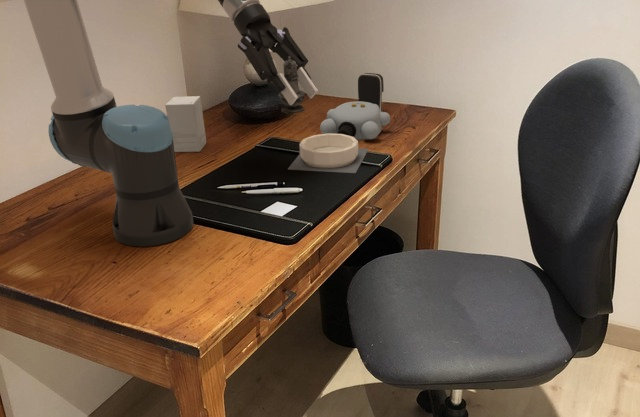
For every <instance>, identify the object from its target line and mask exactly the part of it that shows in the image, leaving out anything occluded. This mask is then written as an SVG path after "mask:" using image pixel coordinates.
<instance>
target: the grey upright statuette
mask: <svg viewBox="0 0 640 417" xmlns="http://www.w3.org/2000/svg"><path fill="white" fill-rule="evenodd" d="M288 58H289V59H288V60H287V61H284V62H283V64H282V66H283V76H284V77H285V79H286V80H287V82H288V83H289V85H290V86H291V88H292V89H293V91H294V92H295V94H296V95H297V97H298V98H297V99H296V101H295V102H294V103H293V105H289V103H288V102H287V100H286V99H285V97H284V96H283V94H282V93H281V92H279V94H278V97H279V99H280V101H281V103H282V104H283V105H284V106H283V107H282V108H281V109H280V111H281V113H283V114H299V113H302V112H305V110H306V108H305V107H304V106H302V104H303V102H304V100H305V96H306V92H305V91H304V90H300V86H299V82H298V78H299V76H298V75H297V65H296V62H295V61H294V60H292V59H291V57H290V56H289V57H288Z"/></svg>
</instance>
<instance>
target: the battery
mask: <svg viewBox="0 0 640 417" xmlns="http://www.w3.org/2000/svg"><path fill="white" fill-rule="evenodd" d="M383 92H384V77H383V75H381V74H379V73H374V72H372V73H371V72H364V73H362V74H360V75H359V77H358V78H357V96H358V101H361V102H369V103H372V104H376V105H378V106H379V108H380V111H381V112H383V106H382V105H383V104H382V100H383Z"/></svg>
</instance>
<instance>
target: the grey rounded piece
mask: <svg viewBox="0 0 640 417" xmlns="http://www.w3.org/2000/svg"><path fill="white" fill-rule="evenodd" d="M390 122H391V116H390V114H389V113H388V112H386V111H382V112H381V111H380V108H379V106H378V105H376V104H372V103H369V102H361V101H359V100H358V101H347V102H345V103H342V104H340V105H337V106H336V107H335V108H330V109H329V110H328V111H327V113H326V119H324V120H323V121H322V122H321V123H320V126H319V128H320V132H321V134H327V133H330V134H344V135H348V136H352V137H354V138H355V139H356V140H357V141H358V140H359V141H360V140H373V139H376V138H377V137H378V135H380V133H381V132H382V130H383V127H385V126H387V125H388V124H390Z"/></svg>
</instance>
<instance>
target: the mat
mask: <svg viewBox="0 0 640 417" xmlns="http://www.w3.org/2000/svg"><path fill="white" fill-rule="evenodd" d="M368 151H369V148H359V147H358V155H357V157H356V159H355V161H354V162H352V163H351V164H349V165H346V166H343V167H338V168H316V167H312V166H309V165H307V164H305V163H304V161H303V159H302V158H301V157H300V153H299V154H298V155H297V157H296V158H295V159H294V161H292V163H291V164H290V165H289V167H288V168H287V170H291V171H308V172H309V171H311V172H328V173H343V174H344V173H345V174H347V173H348V174H356V173H357V171H358V170H359V167H360V166H361V164H362V162H363V160H364V159H365V157H366V154H367V153H368Z"/></svg>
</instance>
